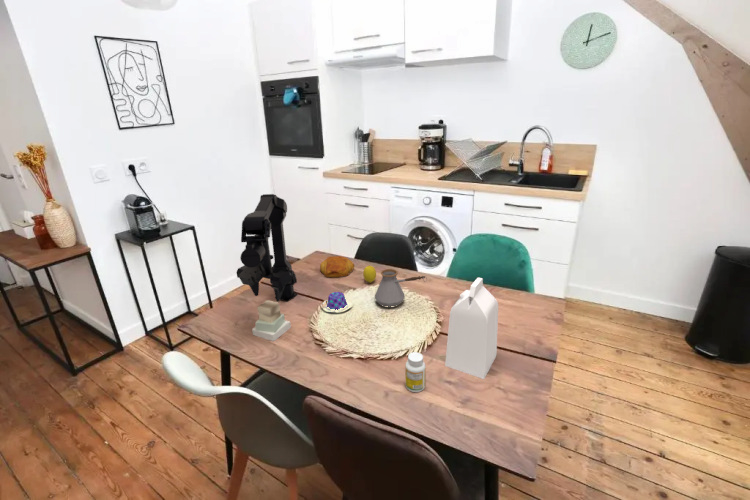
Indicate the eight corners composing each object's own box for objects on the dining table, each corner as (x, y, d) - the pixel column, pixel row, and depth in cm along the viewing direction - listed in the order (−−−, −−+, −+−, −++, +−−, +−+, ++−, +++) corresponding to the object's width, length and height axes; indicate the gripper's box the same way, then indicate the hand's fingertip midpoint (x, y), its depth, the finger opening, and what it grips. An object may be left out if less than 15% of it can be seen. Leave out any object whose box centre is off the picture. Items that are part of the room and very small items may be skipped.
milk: (484, 379, 106) (491, 296, 96) (445, 365, 112) (448, 286, 102) (496, 355, 115) (504, 277, 106) (459, 344, 121) (464, 269, 112)
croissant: (325, 269, 184) (322, 254, 181) (356, 266, 181) (353, 250, 178) (317, 282, 170) (313, 265, 168) (351, 278, 168) (347, 262, 165)
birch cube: (269, 312, 133) (267, 300, 131) (280, 315, 131) (278, 302, 129) (259, 320, 129) (257, 307, 127) (271, 323, 126) (269, 310, 125)
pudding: (314, 309, 145) (313, 297, 143) (335, 296, 154) (334, 284, 152) (339, 318, 139) (338, 305, 137) (359, 304, 148) (358, 292, 146)
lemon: (378, 280, 166) (377, 263, 163) (373, 286, 161) (373, 268, 158) (366, 279, 168) (365, 262, 165) (361, 284, 163) (360, 267, 160)
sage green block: (266, 319, 134) (265, 311, 133) (285, 321, 133) (284, 313, 132) (256, 330, 128) (255, 322, 127) (275, 332, 126) (274, 324, 125)
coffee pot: (368, 304, 146) (367, 269, 141) (385, 292, 155) (385, 258, 150) (417, 321, 135) (418, 283, 129) (433, 307, 143) (434, 270, 138)
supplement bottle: (417, 395, 101) (418, 366, 97) (401, 387, 104) (401, 357, 101) (428, 384, 105) (429, 355, 101) (412, 376, 108) (412, 348, 104)
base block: (270, 323, 138) (269, 316, 136) (291, 328, 134) (290, 321, 133) (253, 336, 130) (252, 329, 129) (274, 342, 126) (273, 335, 125)
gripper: (219, 259, 118) (228, 303, 124) (265, 269, 110) (272, 316, 116) (246, 247, 127) (252, 289, 133) (290, 255, 119) (295, 299, 125)
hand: (267, 298), depth 126 cm, fingers open, 9 cm apart
